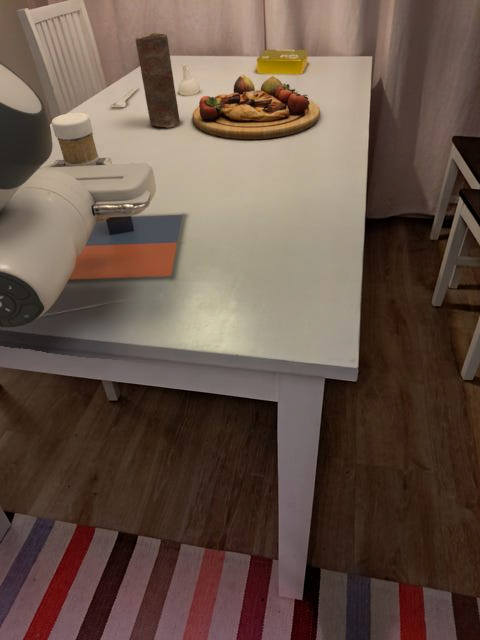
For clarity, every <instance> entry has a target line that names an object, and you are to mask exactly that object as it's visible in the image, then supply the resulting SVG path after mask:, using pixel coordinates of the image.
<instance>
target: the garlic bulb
mask: <svg viewBox="0 0 480 640" xmlns="http://www.w3.org/2000/svg"><path fill="white" fill-rule="evenodd" d="M182 73H183V74H182V75H183V76H182V77H183V78H182V80H181V81H180V82H179V84H178V87H177V88H178V90H177V91H178V93H179V95H180V96H184V97H186V96H187V97H188V96H195V95H196V94H198V93H199V92H200V88H201V86H200V83H199V82H198V80H197V79H195V78H193V77H191V74H190V72H189V69H188V66H187V64H185V63H182Z"/></svg>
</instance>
